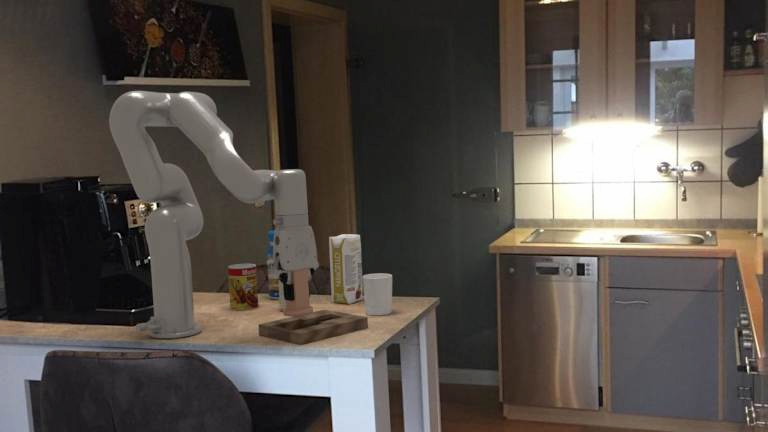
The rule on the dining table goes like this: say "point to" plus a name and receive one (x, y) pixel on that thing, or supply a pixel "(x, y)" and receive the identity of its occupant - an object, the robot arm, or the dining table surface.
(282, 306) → the supplement box
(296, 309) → the footed peg
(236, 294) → the canned food
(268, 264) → the beverage bottle
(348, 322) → the keyhole plate
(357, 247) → the juice carton
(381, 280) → the white cup
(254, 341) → the dining table surface
